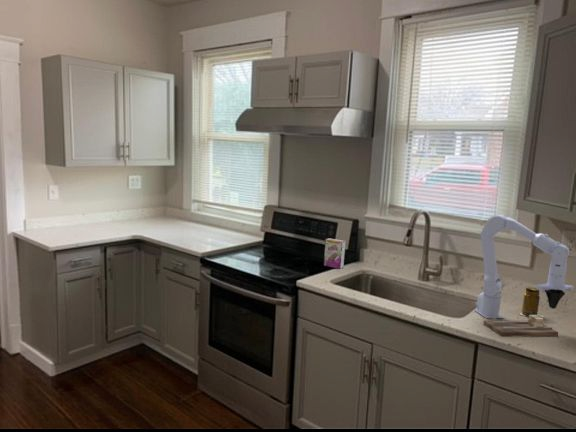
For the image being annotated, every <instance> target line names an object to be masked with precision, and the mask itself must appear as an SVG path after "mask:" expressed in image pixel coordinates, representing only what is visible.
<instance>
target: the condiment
mask: <svg viewBox="0 0 576 432" xmlns="http://www.w3.org/2000/svg"><path fill="white" fill-rule="evenodd" d="M540 292H541V291H540V290H538V289H537V287H530V286H529V287H525V292H524V295H523V301H522V306H521V307H522V308H521V312H520V313H519V315H520V316H523V317H527V318H529V315H537V316H539V317H541V318H543V319H544V317H545V315H542V314H538V312H539V305H540V304H539V303H540Z"/></svg>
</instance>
